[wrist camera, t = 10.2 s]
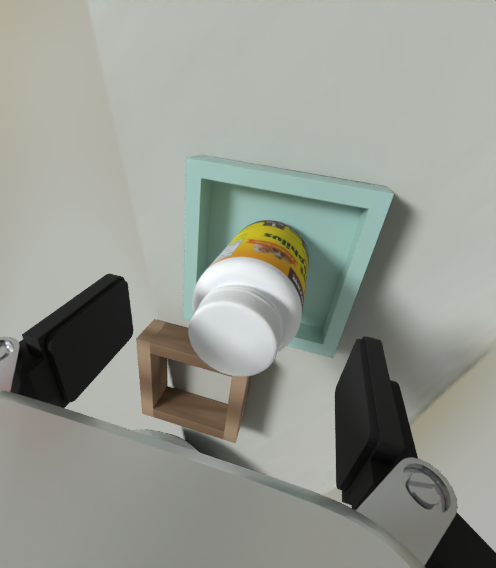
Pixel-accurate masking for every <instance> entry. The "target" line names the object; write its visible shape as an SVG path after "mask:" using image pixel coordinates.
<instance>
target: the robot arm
mask: <svg viewBox="0 0 496 568" xmlns="http://www.w3.org/2000/svg"><path fill="white" fill-rule="evenodd" d="M132 334H133V325H132V315H131V308H130V300H129V291H128V284H127V282H126V281H125V280H124V278H123V277H121V276H117V275H113V274H107V275H105V276H104V277H102V278H101V279H100V280H98V281H97V282H95V283H94V284H92V285H91V286H90V287H88V288H87V289H85V290H84V291H83V292H81V293H80V294H78V295H77V296H76V297H74V298H73V299H71V300H70V301H69V302H67V303H66V304H65V305H63V306H62V307H60V308H59V309H57V310H56V311H55V312H53V313H52V314H50V315H49V316H48V317H46V318H45V319H43V320H42V321H41V322H39V323H38V324H36V325H35V326H34V327H32V328H31V329H30V330H28V331H27V332H25V333H24V334H22V336H23V340H22V341H20V342H18V341H17V340H16V339H14V338H11V337H0V568H496V553H495V552H494V551H493V550H492V549H491V548H490V547H489V545H487V543H486V542H485V541H484V540H483V539H482V538H481V537H480V536H479V535H478V534H477V533H476V532H475V531H474V530H473V529H472V528H471V527H470V526H469V525H468V524H467V523H466V521H465V520H464V519H463V518H462V517H461V516H460V515H459V514H458V513H457V508H458V506H457V498H456V495H455V493H454V490H453V488H452V487H451V485H450V484H449V482H448V480H447V479H446V478H445V477H444V476H443V475H442V474H441V473H440V472H439V470H437V469H436V468H435V467H433V466H432V465H431V464H429V463H427V462H425V461H423V460H421V459H418V457H417V453H416V449H415V445H414V441H413V437H412V433H411V429H410V425H409V422H408V418H407V414H406V410H405V406H404V402H403V398H402V394H401V390H400V387H399V384H398V383H397V382H395V381H391V380H390V378H389V374H388V369H387V365H386V360H385V356H384V351H383V347H382V343H381V341H380V340H378V339H374V338H369V337H365V336H364V337H363V338H362V340H361V339H357V340H356V342H355V344H354V346H353V349H352V351H351V353H350V356H349V358H348V360H347V363H346V365H345V367H344V370H343V372H342V374H341V377H340V379H339V381H338V384H337V386H336V390H335V434H336V485H337V488H338V489H340V490H342V502H344V503H347V504H350V505H352V508H349V507H348V506H346V505H344V504H342V503H340V502H337V501H335V500H332V499H330V498H328V497H325V496H323V495H320V494H318V493H315V492H313V491H310V490H307V489H304V488H301V487H299V486H296V485H293V484H290V483H287V482H285V481H282V480H279V479H276V478H273V477H270V476H268V475H265V474H262V473H259V472H256V471H253V470H250V469H247V468H244V467H241V466H238V465H235V464H232V463H229V462H226V461H223V460H220V459H217V458H214V457H211V456H208V455H205V454H202V453H199V452H196V451H193V450H190V449H187V448H184V447H181V446H178V445H175V444H172V443H169V442H166V441H163V440H160V439H157V438H154V437H151V436H148V435H145V434H142V433H138V432H135V431H132V430H129V429H126V428H123V427H120V426H117V425H114V424H111V423H108V422H105V421H102V420H99V419H95V418H92V417H89V416H86V415H83V414H80V413H77V412H74V411H71V410H68V409H65V407H66V406H67V405H68V403H69V402H73V401H75V400H76V399H77V398H78V396H79V395H80V394H81V393H82V392H83V391H84V390H85V389H86V388H87V387H88V385H89V384H90V383H91V382H92V381H93V380H94V379H95V378H96V376H97V375H98V374H99V373H100V372H101V371H102V370H103V369H104V367H105V366H106V365H107V364H108V363H109V362H110V361H111V360H112V359H113V357H114V356H115V355H116V354H117V353H118V352H119V351H120V349H121V348H122V347H123V346H124V345H125V344H126V343H127V342H128V341H129V339H130V338H131V337H132Z"/></svg>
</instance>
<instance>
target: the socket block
mask: <svg viewBox="0 0 496 568" xmlns="http://www.w3.org/2000/svg"><path fill="white" fill-rule="evenodd" d="M188 332H189V328H185V327H182V326H178V325H174V324H170V323H167V322H163V321H159V320H155V319H154V320H153V321H152V322H151V323H150V324H149V326H148V327H147V328H146V329H145V330H144V331H143V332H142V333H141V334H140V335H139V336H138V338H137V339H136V341H137V353H138V366H139V378H140V390H141V403H142V413H143V414H146V415H149V416H152V417H155V418H158V419H162V420H165V421H168V422H171V423H174V424H177V425H180V426H183V427H186V428H190V429H193V430H196V431H199V432H202V433H205V434H208V435H211V436H215V437H218V438H221V439H224V440H227V441H230V442H233V443H235V442H236V439H237V436H238V432H239V429H240V425H241V422H242V419H243V414H244V409H245V404H246V398H247V393H248V388H249V382H250V377H251V376H232V375H228V374H225V373H222V372H219V371H217V370H215V369H213V368H212V367H210V366H209V365H207V364H206V363H205V362H204V361H203V360H202V359H201V358H200V357H199V356H198V355H197V353H196V352H195V351H194V349H193V347H192V345H191V342H190V339H189V333H188ZM167 358H168V359H172V360H175V361H179V362H182V363H186V364H189V365H193V366H196V367H200V368H203V369H207V370H210V371H214V372H217V373H221V374H224V375H228V376H231V377H232V381H231V388H230V395H229V402H228V404H225V403H221V402H218V401H215V400H211V399H208V398H205V397H201V396H198V395H195V394H191V393H188V392H185V391H181V390H178V389H175V388H171V387H168V386H167Z"/></svg>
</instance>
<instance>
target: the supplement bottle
mask: <svg viewBox="0 0 496 568" xmlns="http://www.w3.org/2000/svg"><path fill="white" fill-rule="evenodd" d="M308 267H309V253H308V248H307V245H306V243H305V241H304V239H303V238H302V236H301V235H300V234H299V233H298V232H297V231H296V230H295V229H294V228H293V227H291V226H290V225H288V224H286V223H283V222H281V221H277V220H260V221H256V222H254V223H251V224H249V225H248V226H246V227H245V228H244V229H242V230H241V231H240V232H239V233H238V235H237V236H236V237H235V238H234V239H233V240H232V241H231V243H230V244H229V245H228V246H227V247H226V248H225V249H224V250H223V251H222V253H221V254H220V255H219V256H218V257H217V258H216V259H215V261H214V262H213V263H212V264H211V265H210V266H209V267H208V268H207V270H206V271H205V272H204V273H203V274H202V276H201V277H200V278H199V280H198V282H197V284H196V286H195V289H194V293H193V312H194V315H193V316H192V318H191V320H190V324H189V332H188V333H189V339H190V342H191V345H192V347H193V349H194V351H195V352H196V353H197V355H198V356H199V357H200V358H201V359H202V360H203V361H204V362H205V363H206V364H207V365H209V366H210V367H212V368H213V369H215V370H217V371H219V372H222V373H225V374H228V375H232V376H252V375H255V374H258V373H260V372H262V371H264V370H265V369H267V368H268V367H269V366H270V365H271V364H272V363H273V361H274V359H275V357H276V355H277V352H278V351H280V350H282V349H283V348H285V347H286V346H287V345H288V344H289V343H290V342H291V341H292V340H293V338H294V337H295V335H296V334H297V332H298V329H299V327H300V323H301V318H302V312H303V304H304V296H305V289H306V281H307V273H308Z"/></svg>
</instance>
